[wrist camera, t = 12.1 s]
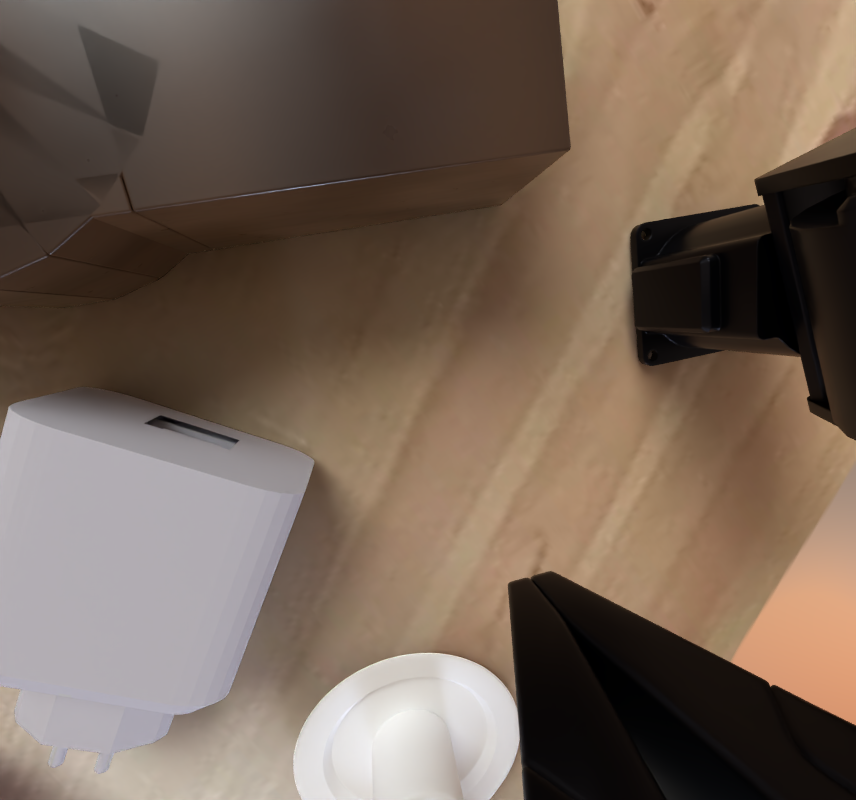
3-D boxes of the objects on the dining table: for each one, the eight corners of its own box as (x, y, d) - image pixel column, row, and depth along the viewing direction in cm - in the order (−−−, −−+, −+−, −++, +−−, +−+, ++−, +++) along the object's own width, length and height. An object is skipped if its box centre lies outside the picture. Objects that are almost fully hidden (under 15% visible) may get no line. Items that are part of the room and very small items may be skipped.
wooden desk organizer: (452, -187, 15) (512, -518, 9) (505, 234, 18) (575, 194, 12) (-357, -159, 12) (-1052, -619, 6) (-121, 338, 15) (-426, 351, 9)
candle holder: (496, 816, 24) (524, 919, 20) (287, 835, 22) (270, 955, 18) (532, 641, 22) (571, 715, 18) (305, 642, 20) (290, 727, 16)
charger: (1, 693, 18) (93, 382, 16) (213, 727, 20) (317, 454, 18) (-120, 819, 14) (-11, 407, 12) (170, 847, 16) (302, 500, 14)
